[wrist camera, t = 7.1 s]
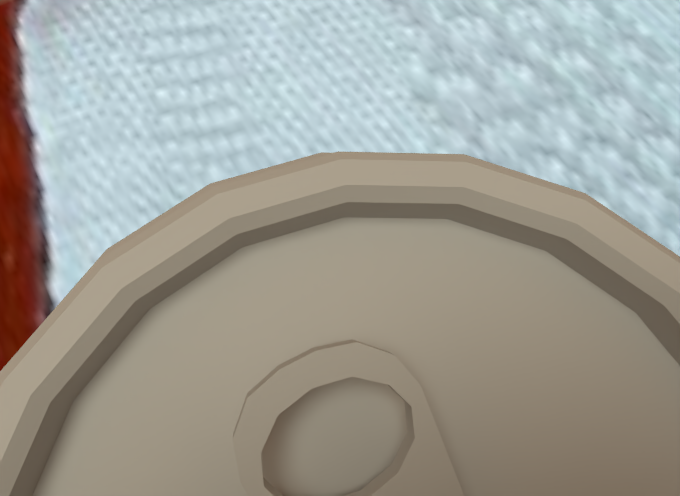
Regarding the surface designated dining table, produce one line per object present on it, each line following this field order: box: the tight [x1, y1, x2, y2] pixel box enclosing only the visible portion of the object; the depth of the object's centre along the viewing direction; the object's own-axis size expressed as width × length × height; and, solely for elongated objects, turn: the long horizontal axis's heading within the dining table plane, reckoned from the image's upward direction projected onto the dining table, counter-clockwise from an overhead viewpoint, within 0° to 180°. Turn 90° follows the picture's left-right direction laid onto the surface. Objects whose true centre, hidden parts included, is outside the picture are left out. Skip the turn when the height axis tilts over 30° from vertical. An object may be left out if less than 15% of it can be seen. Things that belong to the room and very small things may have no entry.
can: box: [0, 152, 680, 496], centre depth 9 cm, size 8×8×12 cm
